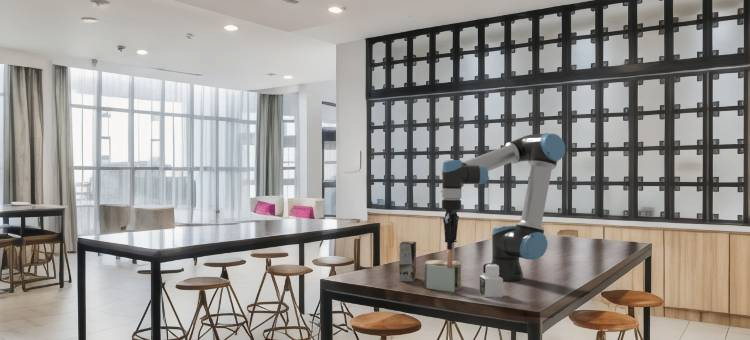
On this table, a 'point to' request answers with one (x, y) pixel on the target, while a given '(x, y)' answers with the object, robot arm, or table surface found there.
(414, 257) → the coffee box
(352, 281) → the table surface
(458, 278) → the cubby
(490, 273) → the medicine bottle
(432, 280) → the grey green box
